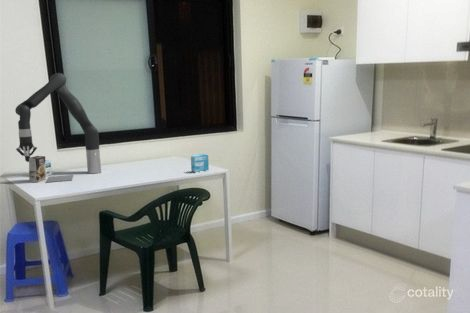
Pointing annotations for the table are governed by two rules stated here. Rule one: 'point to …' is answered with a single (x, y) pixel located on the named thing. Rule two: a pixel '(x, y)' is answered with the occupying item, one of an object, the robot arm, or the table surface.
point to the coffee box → (37, 169)
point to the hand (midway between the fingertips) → (27, 161)
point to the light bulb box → (48, 167)
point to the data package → (199, 163)
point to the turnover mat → (59, 178)
